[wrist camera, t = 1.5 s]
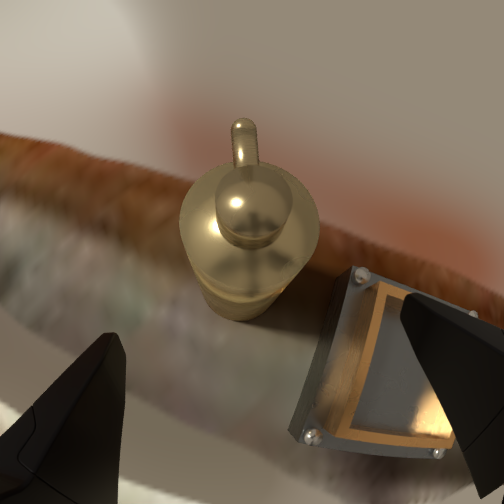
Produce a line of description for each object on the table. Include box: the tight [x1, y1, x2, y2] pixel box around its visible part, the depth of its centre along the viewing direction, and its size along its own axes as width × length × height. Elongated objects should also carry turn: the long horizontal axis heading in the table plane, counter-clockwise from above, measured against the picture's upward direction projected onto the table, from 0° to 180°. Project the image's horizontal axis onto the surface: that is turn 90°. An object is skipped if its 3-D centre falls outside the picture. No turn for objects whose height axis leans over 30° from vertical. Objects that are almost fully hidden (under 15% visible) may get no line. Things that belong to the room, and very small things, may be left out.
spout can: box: [179, 118, 320, 321], centre depth 14 cm, size 6×5×12 cm
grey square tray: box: [288, 266, 481, 459], centre depth 16 cm, size 11×11×5 cm
